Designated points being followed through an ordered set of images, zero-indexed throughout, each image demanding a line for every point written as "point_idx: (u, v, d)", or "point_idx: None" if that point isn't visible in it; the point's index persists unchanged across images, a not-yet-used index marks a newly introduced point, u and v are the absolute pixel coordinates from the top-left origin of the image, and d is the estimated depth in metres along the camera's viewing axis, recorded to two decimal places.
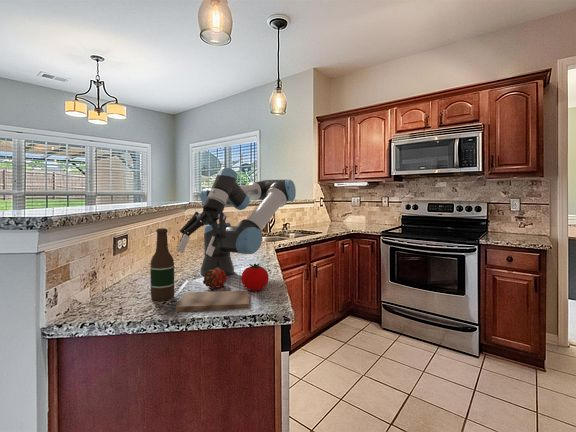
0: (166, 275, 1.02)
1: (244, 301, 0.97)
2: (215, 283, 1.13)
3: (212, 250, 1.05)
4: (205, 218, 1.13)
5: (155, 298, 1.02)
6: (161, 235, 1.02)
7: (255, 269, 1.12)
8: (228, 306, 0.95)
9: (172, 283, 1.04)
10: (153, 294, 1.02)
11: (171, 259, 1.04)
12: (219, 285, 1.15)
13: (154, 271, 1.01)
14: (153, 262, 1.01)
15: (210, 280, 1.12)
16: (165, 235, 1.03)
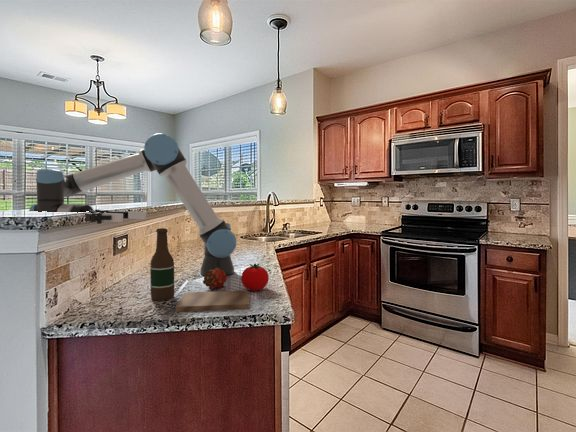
0: (166, 275, 1.02)
1: (244, 301, 0.97)
2: (215, 283, 1.13)
3: (115, 215, 0.97)
4: None
5: (155, 298, 1.02)
6: (161, 235, 1.02)
7: (255, 269, 1.12)
8: (228, 306, 0.95)
9: (172, 283, 1.04)
10: (153, 294, 1.02)
11: (171, 259, 1.04)
12: (219, 285, 1.15)
13: (154, 271, 1.01)
14: (153, 262, 1.01)
15: (210, 280, 1.12)
16: (165, 235, 1.03)
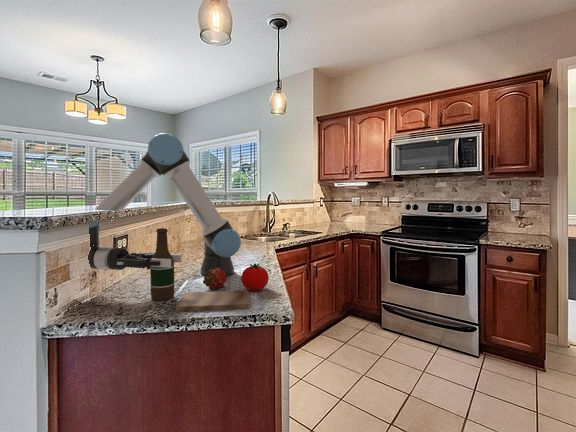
0: (166, 275, 1.02)
1: (244, 301, 0.97)
2: (215, 283, 1.13)
3: (164, 261, 1.00)
4: None
5: (155, 298, 1.02)
6: (161, 235, 1.02)
7: (255, 269, 1.12)
8: (228, 306, 0.95)
9: (172, 283, 1.04)
10: (153, 294, 1.02)
11: (171, 259, 1.04)
12: (219, 285, 1.15)
13: (154, 271, 1.01)
14: None
15: (210, 280, 1.12)
16: (165, 235, 1.03)
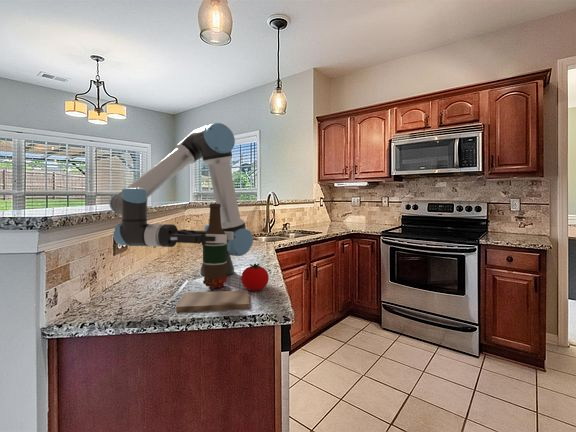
0: (220, 252, 0.97)
1: (244, 301, 0.97)
2: (215, 283, 1.13)
3: (219, 236, 0.95)
4: None
5: (209, 276, 0.97)
6: (215, 210, 0.98)
7: (255, 269, 1.12)
8: (228, 306, 0.95)
9: (225, 261, 1.00)
10: (207, 272, 0.97)
11: None
12: (219, 285, 1.15)
13: (209, 247, 0.96)
14: None
15: (210, 280, 1.12)
16: (219, 210, 0.98)
